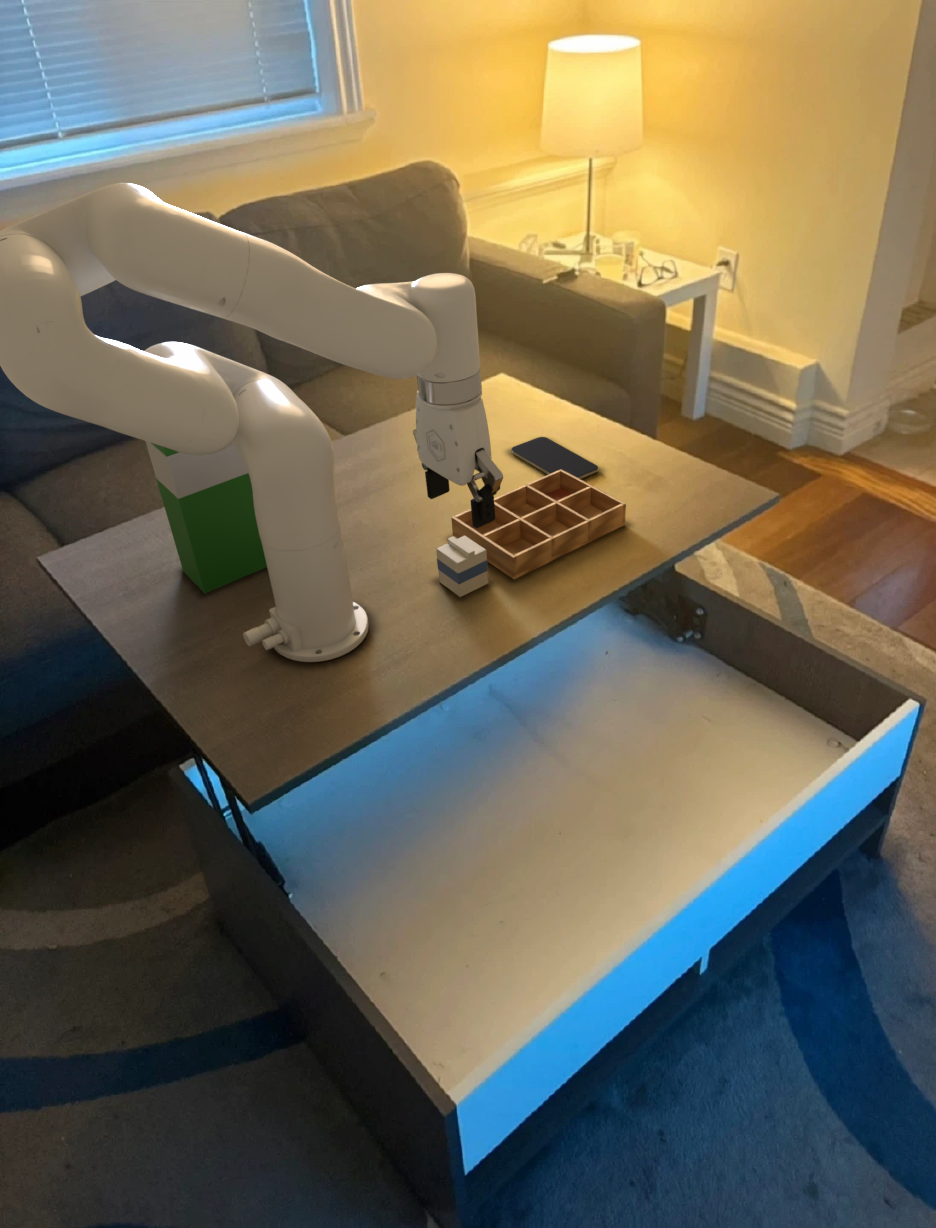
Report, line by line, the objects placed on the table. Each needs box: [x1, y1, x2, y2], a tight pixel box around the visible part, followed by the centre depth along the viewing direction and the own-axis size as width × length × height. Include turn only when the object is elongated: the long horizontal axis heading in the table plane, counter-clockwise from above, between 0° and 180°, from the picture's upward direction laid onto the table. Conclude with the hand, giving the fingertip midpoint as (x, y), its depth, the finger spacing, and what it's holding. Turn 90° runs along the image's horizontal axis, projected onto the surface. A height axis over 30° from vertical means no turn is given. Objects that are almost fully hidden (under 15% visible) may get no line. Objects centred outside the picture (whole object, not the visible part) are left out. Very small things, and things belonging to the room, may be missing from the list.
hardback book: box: [144, 441, 267, 594], centre depth 130 cm, size 18×7×24 cm, turn 127°
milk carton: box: [435, 535, 489, 598], centre depth 127 cm, size 5×5×6 cm
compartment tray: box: [450, 469, 627, 581], centre depth 137 cm, size 21×14×4 cm
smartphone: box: [511, 436, 599, 480], centre depth 155 cm, size 7×1×15 cm
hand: (460, 508), depth 123 cm, fingers open, 9 cm apart
